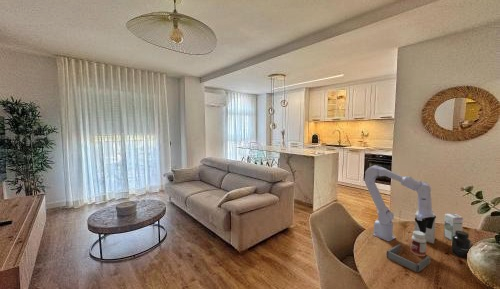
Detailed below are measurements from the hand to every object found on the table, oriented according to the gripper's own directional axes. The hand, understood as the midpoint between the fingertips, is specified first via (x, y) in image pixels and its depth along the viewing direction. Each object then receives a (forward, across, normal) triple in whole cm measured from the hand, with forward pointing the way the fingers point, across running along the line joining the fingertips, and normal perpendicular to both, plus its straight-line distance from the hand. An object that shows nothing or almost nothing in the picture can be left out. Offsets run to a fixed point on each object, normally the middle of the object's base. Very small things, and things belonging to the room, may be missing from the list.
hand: (426, 230), depth 115 cm
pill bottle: (+11, -8, +1) cm, 13 cm away
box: (+10, -19, +1) cm, 22 cm away
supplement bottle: (+12, +9, -11) cm, 19 cm away
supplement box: (+11, +13, +6) cm, 18 cm away
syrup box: (+12, +26, -3) cm, 29 cm away
